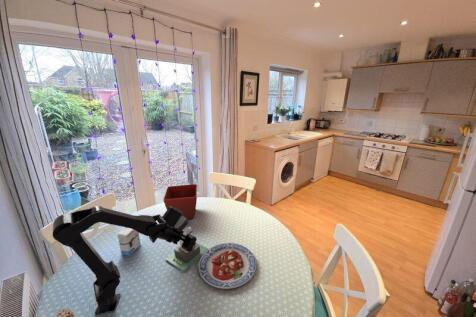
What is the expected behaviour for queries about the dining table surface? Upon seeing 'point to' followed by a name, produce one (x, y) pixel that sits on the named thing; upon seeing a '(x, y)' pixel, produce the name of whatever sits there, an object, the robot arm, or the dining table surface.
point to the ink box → (128, 241)
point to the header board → (186, 257)
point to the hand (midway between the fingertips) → (188, 240)
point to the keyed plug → (186, 232)
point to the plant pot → (182, 199)
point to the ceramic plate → (227, 265)
